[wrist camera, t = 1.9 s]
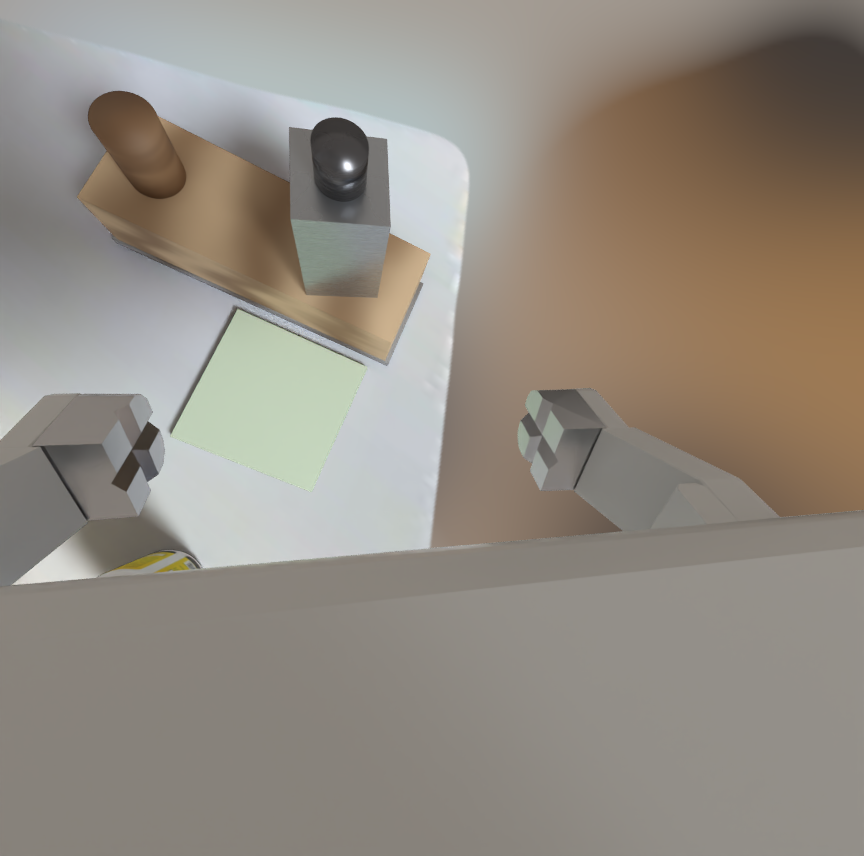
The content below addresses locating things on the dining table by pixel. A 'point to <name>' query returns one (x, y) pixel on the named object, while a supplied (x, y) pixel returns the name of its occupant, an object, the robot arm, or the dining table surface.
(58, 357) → the dining table surface
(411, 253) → the plane body
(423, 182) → the dining table surface
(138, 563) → the supplement bottle
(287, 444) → the felt mat
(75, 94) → the dining table surface
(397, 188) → the dining table surface
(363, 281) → the lever cap
